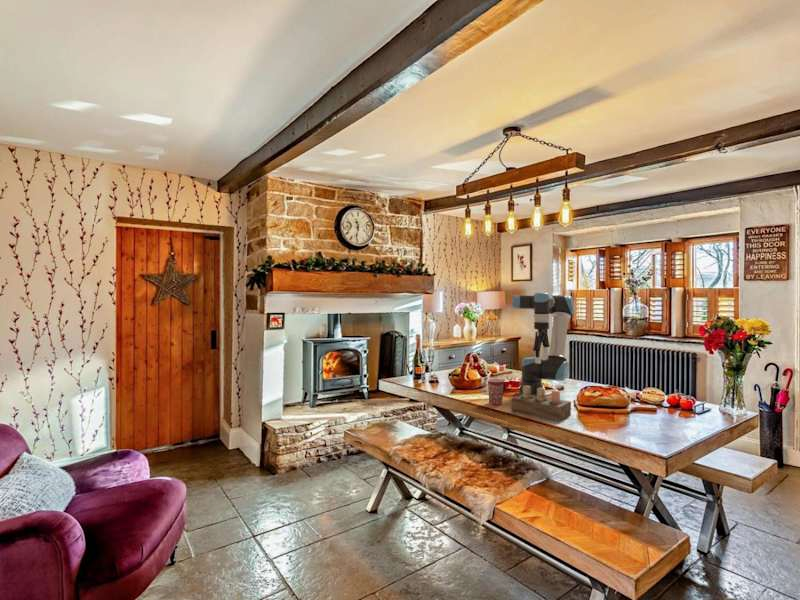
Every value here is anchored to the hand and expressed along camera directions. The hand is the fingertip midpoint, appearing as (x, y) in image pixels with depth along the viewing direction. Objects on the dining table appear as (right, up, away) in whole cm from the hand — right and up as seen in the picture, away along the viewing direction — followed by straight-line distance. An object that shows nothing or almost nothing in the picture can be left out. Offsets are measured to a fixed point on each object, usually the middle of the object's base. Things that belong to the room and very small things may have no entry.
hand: (541, 361), depth 238 cm
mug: (-20, -26, +15) cm, 36 cm away
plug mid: (-2, -22, -5) cm, 23 cm away
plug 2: (+4, -22, -11) cm, 25 cm away
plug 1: (-8, -22, 0) cm, 23 cm away
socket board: (-2, -27, -5) cm, 27 cm away
